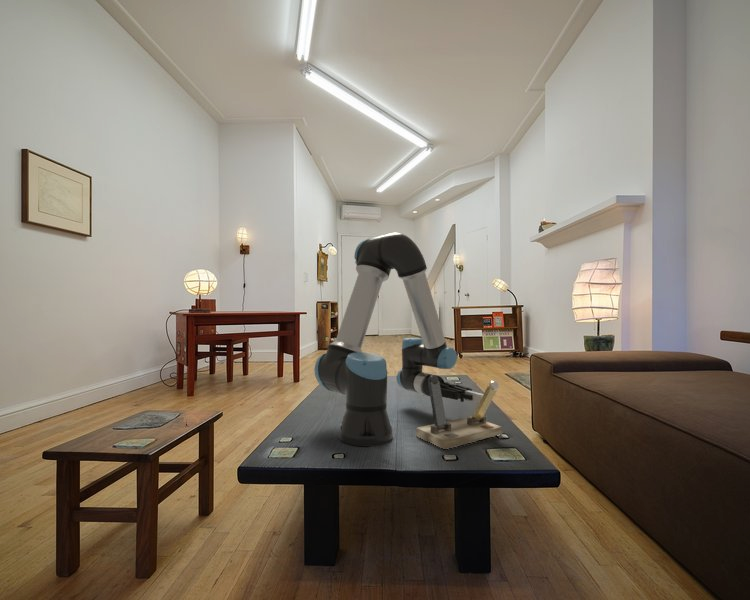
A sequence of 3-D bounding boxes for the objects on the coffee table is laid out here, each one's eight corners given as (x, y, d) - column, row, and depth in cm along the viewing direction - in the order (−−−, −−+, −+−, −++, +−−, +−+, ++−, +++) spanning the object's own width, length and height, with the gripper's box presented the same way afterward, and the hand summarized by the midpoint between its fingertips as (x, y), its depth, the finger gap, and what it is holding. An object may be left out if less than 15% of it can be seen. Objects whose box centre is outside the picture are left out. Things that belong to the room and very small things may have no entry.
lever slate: (433, 430, 104) (425, 376, 107) (442, 428, 105) (433, 375, 109) (440, 430, 101) (431, 375, 105) (449, 428, 103) (439, 374, 107)
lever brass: (468, 418, 111) (488, 379, 105) (476, 416, 113) (496, 378, 107) (474, 425, 109) (495, 385, 103) (482, 423, 111) (503, 384, 105)
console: (416, 436, 106) (416, 421, 106) (471, 424, 118) (471, 410, 118) (445, 450, 96) (445, 433, 96) (501, 435, 108) (501, 420, 108)
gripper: (443, 393, 133) (497, 408, 113) (415, 398, 126) (467, 415, 106) (443, 372, 133) (497, 384, 114) (415, 376, 126) (467, 389, 106)
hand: (483, 399), depth 110 cm, fingers closed
